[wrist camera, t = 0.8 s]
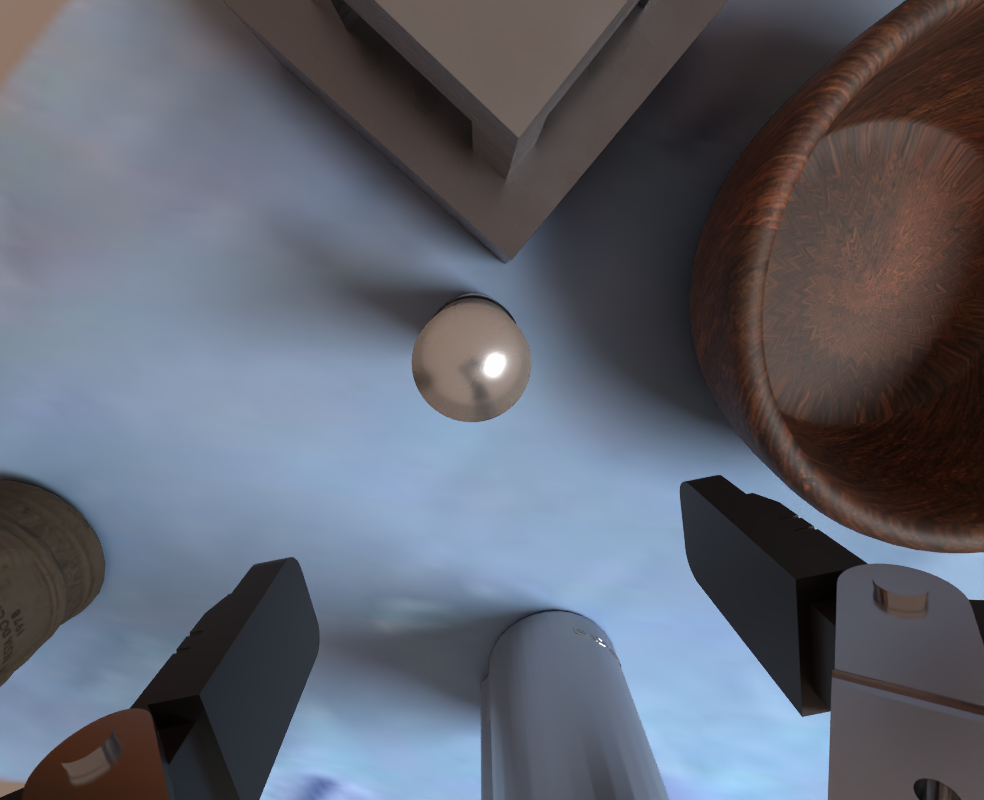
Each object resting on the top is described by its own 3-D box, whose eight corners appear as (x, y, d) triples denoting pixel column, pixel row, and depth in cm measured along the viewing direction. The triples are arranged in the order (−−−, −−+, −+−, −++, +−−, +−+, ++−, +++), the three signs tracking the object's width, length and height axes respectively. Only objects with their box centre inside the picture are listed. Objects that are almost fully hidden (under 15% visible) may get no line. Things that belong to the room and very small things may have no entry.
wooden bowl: (575, 368, 31) (621, 410, 21) (812, -45, 26) (1016, -242, 16) (885, 533, 35) (1050, 637, 25) (1146, 194, 30) (1483, 152, 20)
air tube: (478, 374, 31) (479, 448, 18) (425, 330, 30) (383, 372, 17) (522, 322, 30) (559, 357, 17) (470, 276, 30) (463, 273, 16)
